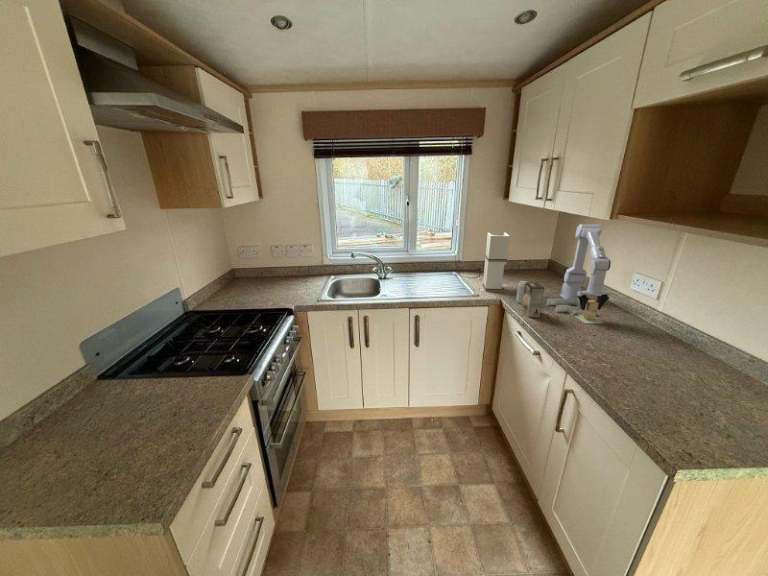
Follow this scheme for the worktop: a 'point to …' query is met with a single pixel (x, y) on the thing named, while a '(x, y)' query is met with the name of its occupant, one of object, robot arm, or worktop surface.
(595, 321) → the end pad
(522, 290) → the beverage can
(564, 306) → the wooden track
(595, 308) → the birch block
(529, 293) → the coffee box
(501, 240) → the tall white stacked column
